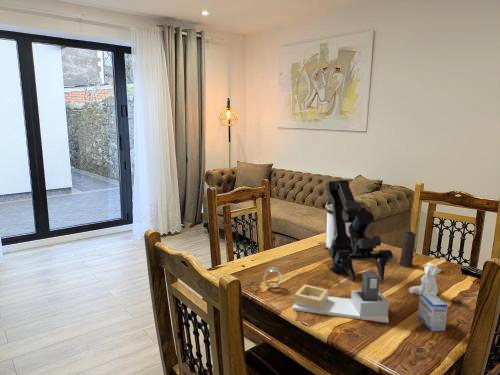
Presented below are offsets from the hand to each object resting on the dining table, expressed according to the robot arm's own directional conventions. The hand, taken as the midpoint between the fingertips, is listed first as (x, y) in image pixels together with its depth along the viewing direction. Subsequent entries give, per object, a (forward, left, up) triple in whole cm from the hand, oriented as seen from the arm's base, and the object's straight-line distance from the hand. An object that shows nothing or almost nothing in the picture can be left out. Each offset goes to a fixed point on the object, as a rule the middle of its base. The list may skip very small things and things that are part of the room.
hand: (368, 280), depth 120 cm
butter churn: (-23, +42, -10) cm, 49 cm away
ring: (-27, -22, -10) cm, 36 cm away
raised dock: (+1, 0, -10) cm, 10 cm away
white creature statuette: (0, +27, -10) cm, 29 cm away
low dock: (-10, -15, -10) cm, 21 cm away
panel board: (-4, -8, -10) cm, 14 cm away
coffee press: (-51, +27, -10) cm, 59 cm away
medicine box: (+15, +12, -10) cm, 22 cm away
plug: (+1, 0, -6) cm, 6 cm away
